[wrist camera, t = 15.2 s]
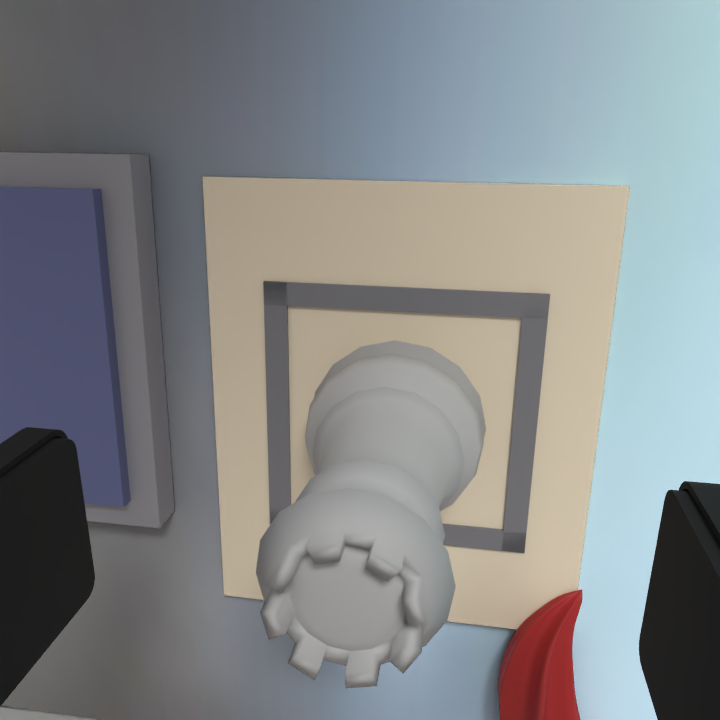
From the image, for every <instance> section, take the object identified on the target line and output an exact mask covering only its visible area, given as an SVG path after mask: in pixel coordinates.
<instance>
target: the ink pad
mask: <svg viewBox="0 0 720 720" xmlns="http://www.w3.org/2000/svg"><path fill="white" fill-rule="evenodd" d="M26 427H33V428H45V429H57V430H62V431H63V432H65V434H66V435H67V437H68V439H71V440H72V441H74V443H75V445H76V448H77V454H78V461H79V468H80V475H81V482H82V489H83V496H84V503H85V510H86V517H87V521H92V522H102V523H112V524H121V525H131V526H141V527H151V528H161V527H162V525H163V524H164V523H165V522H166V521H167V519H168V518H169V517H170V516H171V515H172V513H173V512H174V511H175V506H174V492H173V478H172V465H171V451H170V437H169V424H168V410H167V397H166V383H165V369H164V356H163V342H162V328H161V315H160V301H159V288H158V274H157V260H156V247H155V233H154V219H153V206H152V192H151V178H150V165H149V155H147V154H91V153H35V152H0V444H1V443H2V442H4V441H5V440H7V439H8V438H10V437H11V436H13V435H14V434H15V433H17V432H18V431H20V430H21V429H24V428H26Z"/></svg>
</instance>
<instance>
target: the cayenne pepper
mask: <svg viewBox="0 0 720 720" xmlns="http://www.w3.org/2000/svg"><path fill="white" fill-rule="evenodd" d="M581 602H582V590H577V591H572V592H569V593H565V594H563V595H560V596H558V597H556V598H555V599H553V600H551V601H550V602H548V603H547V604H545V605H544V606H542V607H541V608H540V609H538V610H537V611H536V612H535V613H533V614H532V615H531V616H530V617H529V618H527V619H526V620H525V621H524V622H523V623H522V624H521V626H520V627H519V628H518V629H517V631H516V632H515V634H514V635H513V637H512V639H511V641H510V643H509V645H508V647H507V649H506V652H505V654H504V657H503V660H502V663H501V667H500V671H499V678H498V694H499V710H500V720H580V716H579V712H578V707H577V702H576V696H575V688H574V675H573V659H572V641H573V632H574V626H575V622H576V619H577V616H578V613H579V609H580V606H581Z"/></svg>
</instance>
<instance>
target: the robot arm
mask: <svg viewBox="0 0 720 720" xmlns="http://www.w3.org/2000/svg"><path fill="white" fill-rule="evenodd" d="M94 580H95V573H94V566H93V559H92V552H91V545H90V538H89V531H88V524H87V517H86V510H85V503H84V496H83V489H82V482H81V475H80V468H79V461H78V454H77V448H76V445H75V443H74V441H72V440H71V439H68V437H67V435H66V434H65V432H63V431H62V430H57V429H45V428H33V427H26V428H24V429H21V430H20V431H18V432H17V433H15V434H14V435H13V436H11V437H10V438H8V439H7V440H5V441H4V442H2V443H1V444H0V720H98V719H91V718H84V717H77V716H70V715H64V714H57V713H50V712H43V711H36V710H29V709H22V708H16V707H9V706H2V704H3V702H4V701H5V700H6V699H7V698H8V696H9V695H10V694H11V693H12V691H13V690H14V689H15V688H16V686H17V685H18V684H19V683H20V682H21V680H22V679H23V678H24V677H25V675H26V674H27V673H28V672H29V671H30V669H31V668H32V667H33V666H34V664H35V663H36V662H37V661H38V659H39V658H40V657H41V656H42V655H43V653H44V652H45V651H46V650H47V648H48V647H49V646H50V645H51V643H52V642H53V641H54V640H55V639H56V637H57V636H58V635H59V634H60V632H61V631H62V630H63V629H64V628H65V626H66V625H67V624H68V623H69V621H70V620H71V619H72V618H73V616H74V615H75V614H76V613H77V612H78V610H79V609H80V608H81V607H82V605H83V604H84V603H85V602H86V600H87V599H88V598H89V596H90V594H91V592H92V590H93V586H94ZM639 655H640V662H641V666H642V670H643V673H644V676H645V679H646V683H647V686H648V689H649V692H650V696H651V699H652V702H653V706H654V709H655V712H656V715H657V719H658V720H720V484H711V483H699V482H687V481H684V482H683V483H682V484H681V486H680V488H679V491H677V490H669V491H668V492H667V494H666V497H665V501H664V506H663V512H662V517H661V523H660V528H659V534H658V539H657V545H656V550H655V556H654V561H653V567H652V572H651V578H650V583H649V589H648V595H647V600H646V606H645V611H644V617H643V622H642V628H641V633H640V640H639Z"/></svg>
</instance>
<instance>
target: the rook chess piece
mask: <svg viewBox="0 0 720 720" xmlns="http://www.w3.org/2000/svg"><path fill="white" fill-rule="evenodd" d="M485 432H486V424H485V419H484V414H483V409H482V403H481V398H480V395H479V394H478V392H477V391H476V389H475V388H474V386H473V385H472V383H471V382H470V380H469V379H468V378H467V376H466V375H465V373H464V372H463V370H462V369H461V367H459V366H458V365H456V364H455V363H453V362H452V361H450V360H449V359H447V358H446V357H444V356H443V355H441V354H439V353H438V352H436V351H435V350H433V349H432V348H430V347H425V346H421V345H416V344H411V343H406V342H401V341H396V340H394V341H389V342H383V343H378V344H372V345H367V346H361V347H359V348H358V349H356V350H355V351H353V352H352V353H350V354H348V355H347V356H345V357H344V358H342V359H341V360H339V361H338V362H336V363H335V364H333V365H332V366H331V368H330V370H329V371H328V373H327V374H326V376H325V377H324V379H323V380H322V382H321V383H320V385H319V387H318V388H317V390H316V391H315V395H314V399H313V401H312V402H311V404H310V407H309V413H308V420H307V427H306V433H305V442H306V446H307V450H308V454H309V458H310V461H311V465H312V469H313V473H314V474H315V476H314V477H313V478H311V479H310V480H309V482H308V483H307V485H306V486H305V488H304V489H303V491H302V492H301V494H300V495H299V496H298V498H297V499H296V502H295V503H293V504H292V505H290V506H288V507H287V508H285V509H283V510H281V511H280V512H279V513H278V514H277V516H276V517H275V519H274V520H273V522H272V523H271V525H270V526H269V528H268V529H267V530H266V532H265V533H264V535H263V536H262V538H261V539H260V544H259V552H258V559H257V566H256V576H257V579H258V582H259V586H260V589H261V592H262V596H263V599H264V602H265V603H264V605H263V608H262V610H261V616H262V619H263V622H264V626H265V629H266V632H267V635H268V639H272V638H276V637H279V636H283V635H285V634H286V632H287V633H288V635H289V636H290V637H291V638H292V640H293V641H294V642H295V645H294V647H293V650H292V653H291V656H290V658H289V661H288V664H290V665H291V666H293V667H295V668H296V669H298V670H299V671H301V672H303V673H304V674H306V675H307V676H309V677H310V678H312V679H314V680H315V678H316V676H317V674H318V672H319V669H320V667H321V664H322V661H323V660H326V661H330V662H334V663H338V664H342V665H346V670H345V685H346V688H355V687H369V686H377V681H378V676H379V670H380V664H384V663H387V662H391V663H392V664H393V665H394V666H395V667H397V668H398V669H399V670H400V671H401V672H402V673H404V672H405V671H406V670H407V669H408V667H409V666H410V665H411V664H412V663H413V661H414V660H415V659H416V658H417V657H418V656H419V654H420V653H421V651H422V647H424V646H426V644H427V643H428V642H429V641H430V640H431V639H432V637H433V636H434V635H435V634H436V633H437V632H438V630H439V629H440V628H441V627H442V626H443V625H444V623H445V622H446V621H447V620H448V616H449V612H450V608H451V604H452V600H453V596H454V592H455V588H456V585H455V581H454V576H453V572H452V567H451V562H450V558H449V553H448V551H447V549H446V548H445V546H444V545H443V542H444V538H445V532H444V528H443V523H442V519H441V514H440V511H442V510H443V509H445V508H447V507H449V506H451V505H453V503H454V502H455V501H456V500H457V498H458V497H459V496H460V495H461V493H462V492H463V491H464V489H465V488H466V487H467V486H468V484H469V483H470V482H471V481H472V479H473V478H474V477H475V475H476V473H477V469H478V465H479V461H480V457H481V453H482V449H483V444H484V436H485Z"/></svg>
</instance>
